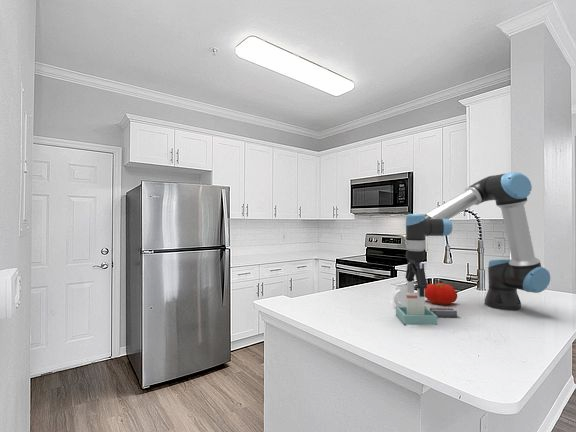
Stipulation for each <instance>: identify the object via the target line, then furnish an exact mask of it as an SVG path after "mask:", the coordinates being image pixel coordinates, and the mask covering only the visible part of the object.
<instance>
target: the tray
mask: <svg viewBox="0 0 576 432" xmlns="http://www.w3.org/2000/svg"><path fill="white" fill-rule="evenodd" d="M395 316H396V317H397V318H398V321H400V322H401V324H403V326H407V325H430V326H431V325H438V318H437V316H436V315H435V314H434V313H433V312H431V311H430V308H427V307H426V306H425V315H407V307H398V306H395Z"/></svg>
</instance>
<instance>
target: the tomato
mask: <svg viewBox="0 0 576 432" xmlns="http://www.w3.org/2000/svg"><path fill="white" fill-rule="evenodd" d="M425 299H427V301H428V302H430V303H432V304H434V305H442V306H447V305H450V304H452V303H453V304H454V303H455V302H456V301H457V299H458V293H457V292H456V289H455V288H454V286H452V285H450V284H447V283H442V282H438V283H428V284H427V288H425Z"/></svg>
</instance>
